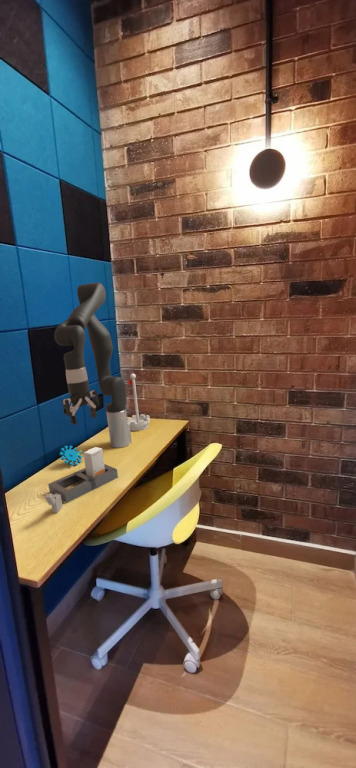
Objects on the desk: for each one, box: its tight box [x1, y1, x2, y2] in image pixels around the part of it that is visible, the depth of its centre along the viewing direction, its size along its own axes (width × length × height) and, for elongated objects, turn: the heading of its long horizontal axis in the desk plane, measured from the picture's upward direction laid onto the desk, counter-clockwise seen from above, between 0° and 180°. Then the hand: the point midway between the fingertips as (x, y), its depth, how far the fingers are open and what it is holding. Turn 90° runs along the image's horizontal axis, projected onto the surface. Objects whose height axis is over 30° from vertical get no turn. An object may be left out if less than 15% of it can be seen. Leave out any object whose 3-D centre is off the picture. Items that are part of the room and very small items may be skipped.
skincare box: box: [83, 446, 105, 478], centre depth 134 cm, size 6×4×12 cm
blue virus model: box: [59, 445, 83, 467], centre depth 152 cm, size 11×6×10 cm
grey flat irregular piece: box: [44, 493, 63, 514], centre depth 114 cm, size 7×2×8 cm, turn 175°
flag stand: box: [127, 373, 151, 432], centre depth 188 cm, size 13×13×30 cm
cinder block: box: [48, 463, 119, 504], centre depth 131 cm, size 22×12×4 cm, turn 137°
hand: (84, 420), depth 134 cm, fingers open, 8 cm apart
